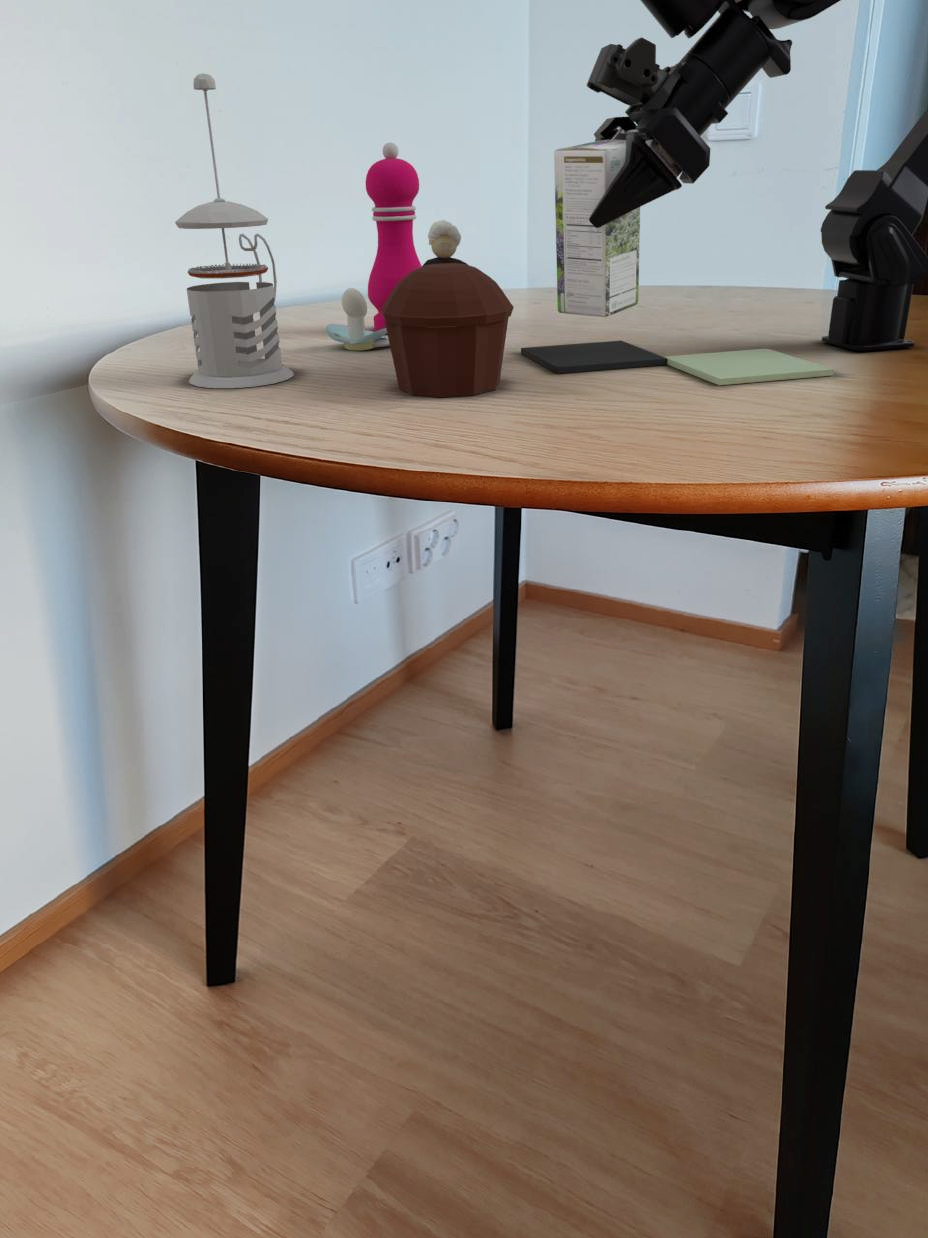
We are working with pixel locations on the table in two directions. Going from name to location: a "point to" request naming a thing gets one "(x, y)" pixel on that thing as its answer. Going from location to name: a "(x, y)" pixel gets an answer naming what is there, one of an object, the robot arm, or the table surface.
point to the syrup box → (593, 233)
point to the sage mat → (747, 366)
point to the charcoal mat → (592, 356)
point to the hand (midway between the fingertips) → (582, 221)
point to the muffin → (447, 330)
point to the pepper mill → (391, 225)
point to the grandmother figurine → (443, 242)
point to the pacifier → (356, 325)
